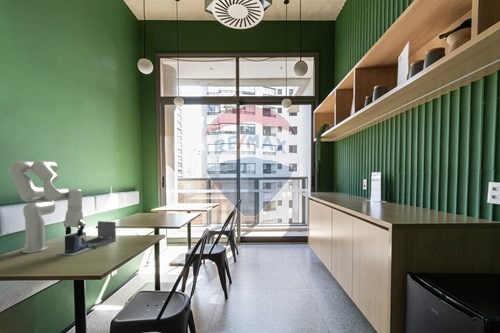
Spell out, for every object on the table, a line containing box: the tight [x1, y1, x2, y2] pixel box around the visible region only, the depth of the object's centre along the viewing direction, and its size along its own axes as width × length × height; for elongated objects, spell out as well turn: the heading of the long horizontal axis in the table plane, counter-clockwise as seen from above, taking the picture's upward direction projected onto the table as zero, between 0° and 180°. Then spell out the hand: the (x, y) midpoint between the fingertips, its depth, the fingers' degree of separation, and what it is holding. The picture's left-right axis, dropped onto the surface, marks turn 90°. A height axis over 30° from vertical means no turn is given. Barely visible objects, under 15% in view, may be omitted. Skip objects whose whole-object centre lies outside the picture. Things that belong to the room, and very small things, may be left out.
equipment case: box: [86, 220, 117, 249], centre depth 173 cm, size 15×18×14 cm
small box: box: [64, 232, 87, 253], centre depth 158 cm, size 11×6×10 cm, turn 175°
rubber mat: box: [57, 248, 94, 257], centre depth 158 cm, size 13×13×1 cm
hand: (74, 235), depth 158 cm, fingers open, 9 cm apart
